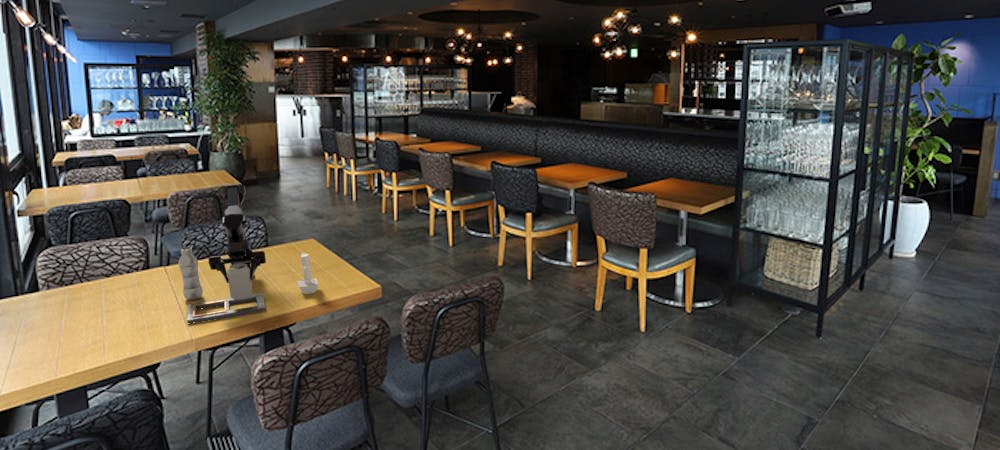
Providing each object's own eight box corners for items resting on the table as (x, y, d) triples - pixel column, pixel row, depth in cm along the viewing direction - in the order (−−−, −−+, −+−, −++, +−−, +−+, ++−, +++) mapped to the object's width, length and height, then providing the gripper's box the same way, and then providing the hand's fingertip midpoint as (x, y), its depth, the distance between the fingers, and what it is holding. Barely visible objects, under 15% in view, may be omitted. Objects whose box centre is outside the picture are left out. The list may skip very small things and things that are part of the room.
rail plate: (262, 296, 227) (262, 292, 227) (265, 311, 214) (265, 306, 214) (189, 308, 217) (188, 303, 217) (187, 324, 204) (187, 319, 204)
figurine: (300, 297, 227) (296, 259, 223) (297, 289, 235) (293, 252, 231) (320, 294, 230) (316, 257, 225) (316, 286, 238) (313, 250, 234)
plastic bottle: (207, 296, 228) (200, 246, 223) (193, 303, 222) (185, 251, 217) (194, 294, 230) (186, 244, 225) (180, 300, 224) (171, 250, 219)
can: (247, 301, 213) (243, 269, 210) (227, 301, 214) (222, 269, 210) (256, 292, 221) (252, 262, 217) (236, 292, 221) (232, 262, 217)
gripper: (205, 235, 211) (207, 275, 204) (261, 229, 217) (266, 267, 211) (209, 249, 220) (212, 288, 213) (263, 243, 227) (268, 281, 220)
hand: (239, 281), depth 214 cm, fingers closed on can, 7 cm apart
